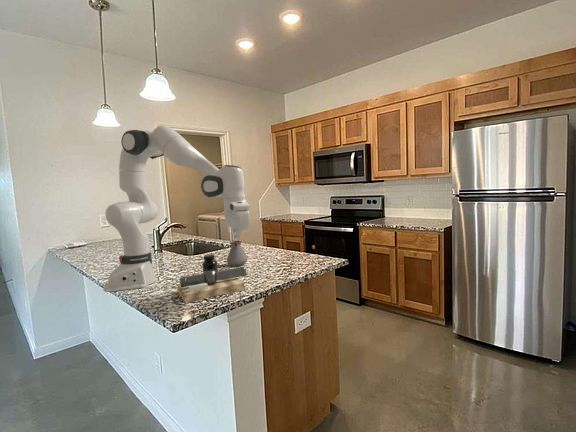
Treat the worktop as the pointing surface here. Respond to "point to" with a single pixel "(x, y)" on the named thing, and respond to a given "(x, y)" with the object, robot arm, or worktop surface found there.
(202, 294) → the levelling stand
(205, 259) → the supplement bottle
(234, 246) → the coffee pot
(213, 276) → the dark grey bar
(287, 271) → the worktop surface
